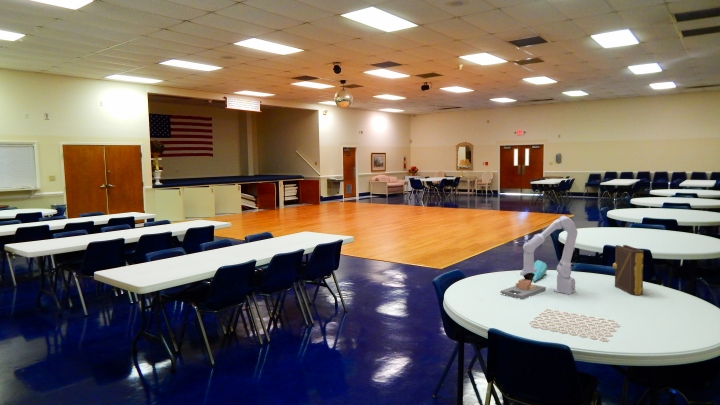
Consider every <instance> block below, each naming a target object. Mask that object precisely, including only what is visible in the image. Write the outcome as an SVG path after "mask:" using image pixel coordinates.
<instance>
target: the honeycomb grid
mask: <svg viewBox="0 0 720 405" xmlns="http://www.w3.org/2000/svg"><path fill="white" fill-rule="evenodd" d="M543 311H544V312H540V313H539V314H538V315H539V316H535V317H533V319H534V320H529V321H528V322H529V324H530V327H532V328H534V329H540V330H544V331H550V332H553V333H554V332H555V333H558V332H559V333H561V334H564V335H565V334H566V335H567V334H568V335H571V336H579V337H581V338H589V339H591V340H594V341H595V340H596V341H597V340H599V341H601V342H604V343H606V342H607V343H608V342H609V341H610V340H609V339H610V337H613V335H614V334H613V333H614V332H615V333H616V332H617V328H620V326H621V324H619V322H618V321H616V320H614V319H606V318H604V317H596V316H591V315H590V316H588V315H585V314H578V313H570V312H568V311H560V310H553V309H551V308H545V309H544V310H543ZM607 337H609V338H607Z"/></svg>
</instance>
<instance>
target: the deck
mask: <svg viewBox="0 0 720 405" xmlns="http://www.w3.org/2000/svg"><path fill="white" fill-rule="evenodd" d="M546 290H547V287H546V286H541V285H538V284H537V285H536V284H532V283H531V286H530V289H528V290H523V289H518V282H515V285H514V286H511V287H508V288H504V289H502V290H500V293H502V294H505V295H504V296H506V295H509V296H508V297H510V296H512V297H511V298H514V297H516V298H515V299H518V298H520V299H519V300H524V298H525V299H527V298H530V297H532V295H533V296H535V295H537V294H541V293H543V292H545V291H546ZM514 293H516V294H514ZM529 296H530V297H529ZM526 297H527V298H526Z"/></svg>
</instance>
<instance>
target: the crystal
mask: <svg viewBox="0 0 720 405" xmlns="http://www.w3.org/2000/svg"><path fill="white" fill-rule="evenodd" d="M534 268H537V272H533V273H534V274H535V275H534V277H533V279H532V281H533V282H536V281H537V280H539V279H541V278H542V277H543V276H544V275H545V273H547V271H548V265H547V264H546V262H544V261H542V260H539V259H537V260H535V261H534Z"/></svg>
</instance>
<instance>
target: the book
mask: <svg viewBox="0 0 720 405" xmlns="http://www.w3.org/2000/svg"><path fill="white" fill-rule="evenodd" d="M614 252H615V256H614V257H615V258H614V263H612V268H613V269H614V287H615V288H617V289H619V290H621V291H623V292H625V293H626V294H628V295H631V296H643V292H644V291H643V289H644V283H643V282H644V256H645V255H644V250H643V249H640V248H636V247H633V246H630V245H627V244H623V245H622V246H621V245H619V244H615V250H614Z"/></svg>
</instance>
